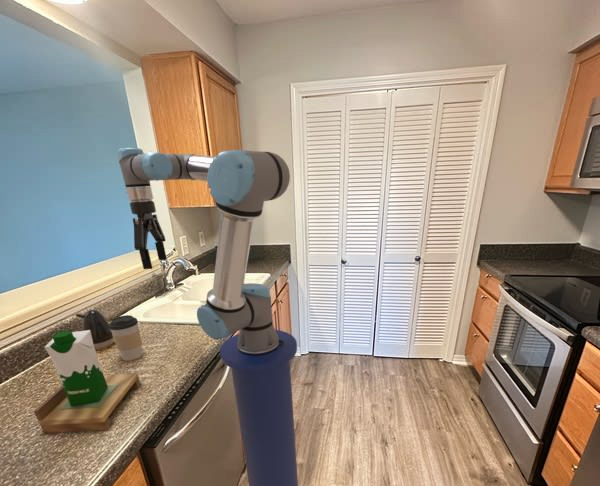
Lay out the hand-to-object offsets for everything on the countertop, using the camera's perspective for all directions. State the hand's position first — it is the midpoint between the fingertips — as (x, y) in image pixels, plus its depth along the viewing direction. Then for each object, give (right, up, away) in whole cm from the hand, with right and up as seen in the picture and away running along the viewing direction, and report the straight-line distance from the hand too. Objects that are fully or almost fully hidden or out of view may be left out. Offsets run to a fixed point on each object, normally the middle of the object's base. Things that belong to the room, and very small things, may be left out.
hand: (155, 264), depth 116 cm
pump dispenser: (-26, -30, +10) cm, 41 cm away
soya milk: (-6, -41, -27) cm, 50 cm away
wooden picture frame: (-6, -44, -25) cm, 51 cm away
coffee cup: (-9, -33, +2) cm, 35 cm away
